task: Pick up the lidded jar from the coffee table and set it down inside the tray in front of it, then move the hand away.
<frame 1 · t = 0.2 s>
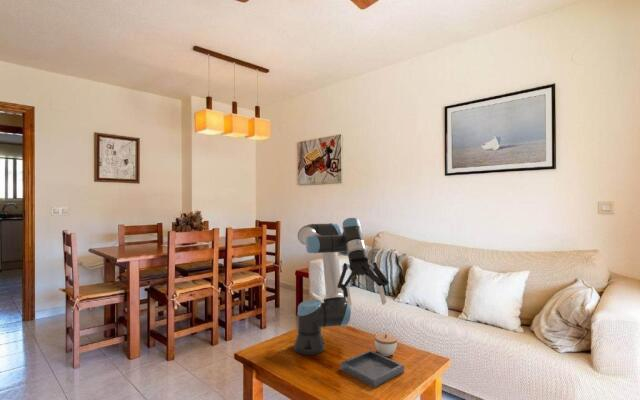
hand: (367, 304, 130), 36 cm above the table, tool tilted 35°, fingers open, 13 cm apart
lidded jar: (385, 353, 169), on the table
tray: (371, 370, 152), on the table
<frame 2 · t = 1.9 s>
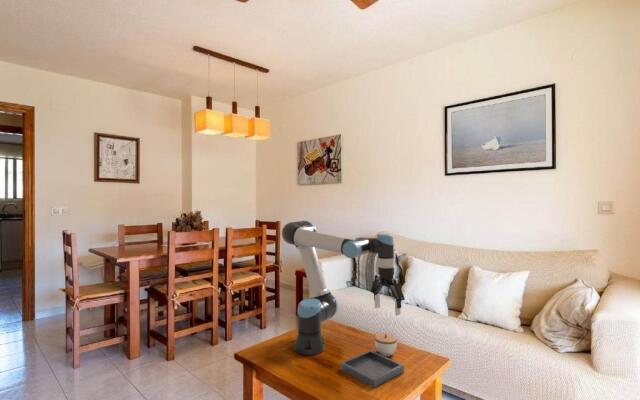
hand: (387, 311, 166), 21 cm above the table, tool pointing down, fingers open, 13 cm apart
nothing on the table moved.
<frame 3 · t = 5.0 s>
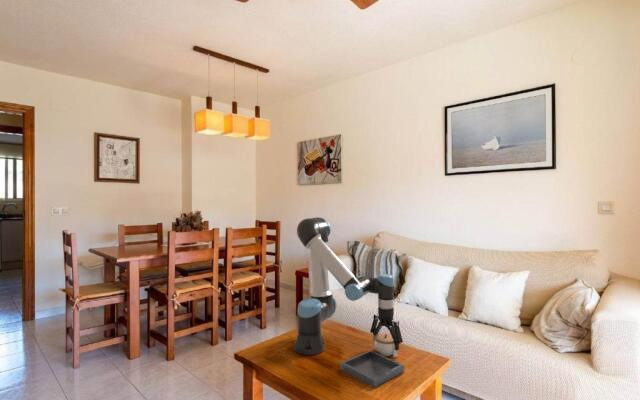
hand: (385, 352, 169), 0 cm above the table, tool pointing down, fingers closed on lidded jar, 11 cm apart
lidded jar: (385, 353, 169), on the table, touching gripper
when the fingers open (3 cm above the table, at t = 12.8 s): lidded jar drops 2 cm, resting on tray.
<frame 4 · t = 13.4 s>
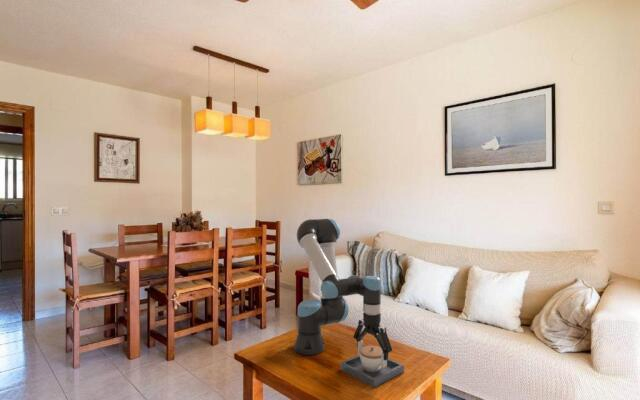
hand: (371, 361, 152), 4 cm above the table, tool pointing down, fingers open, 13 cm apart
lidded jar: (371, 368, 152), point 1 cm above the table, touching tray
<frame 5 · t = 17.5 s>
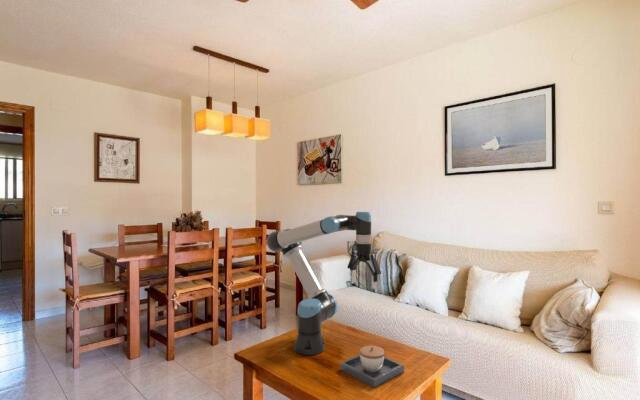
hand: (363, 285, 173), 32 cm above the table, tool pointing down, fingers open, 13 cm apart
nothing on the table moved.
at the end: lidded jar inside the target area on the tray (0.0 cm from its centre), point 0.8 cm above the tray's base; lidded jar tilted 0°; the gripper is holding nothing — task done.
